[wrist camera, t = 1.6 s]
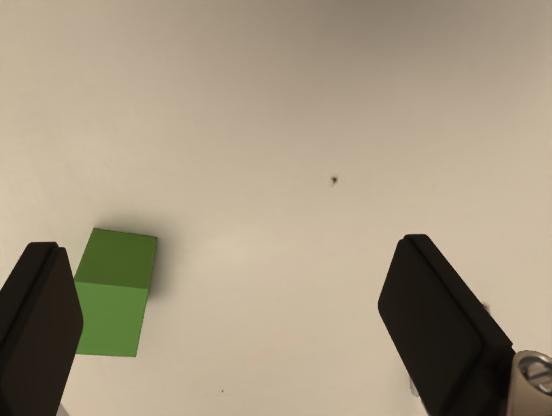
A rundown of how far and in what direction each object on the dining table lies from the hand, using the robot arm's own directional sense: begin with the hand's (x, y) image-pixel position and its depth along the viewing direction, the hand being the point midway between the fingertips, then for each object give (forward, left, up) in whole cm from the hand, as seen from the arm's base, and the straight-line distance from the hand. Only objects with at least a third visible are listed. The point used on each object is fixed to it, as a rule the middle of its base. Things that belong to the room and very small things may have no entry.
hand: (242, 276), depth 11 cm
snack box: (+12, -10, -16) cm, 23 cm away
